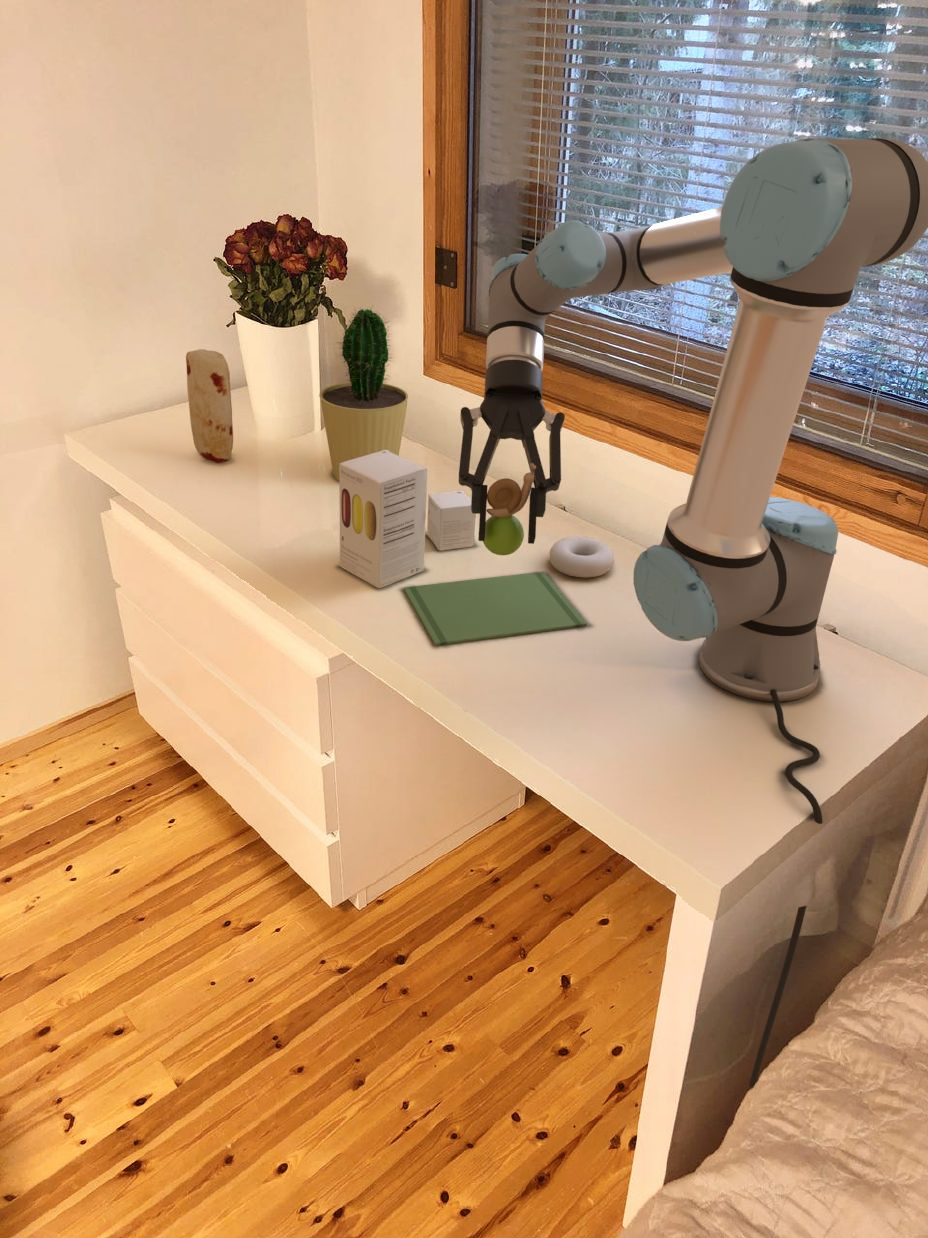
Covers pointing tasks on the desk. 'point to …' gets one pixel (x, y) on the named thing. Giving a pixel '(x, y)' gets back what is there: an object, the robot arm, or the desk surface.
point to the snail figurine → (506, 514)
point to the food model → (210, 404)
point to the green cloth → (492, 608)
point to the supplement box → (382, 517)
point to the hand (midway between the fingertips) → (506, 538)
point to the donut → (581, 557)
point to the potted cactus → (363, 396)
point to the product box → (450, 520)
